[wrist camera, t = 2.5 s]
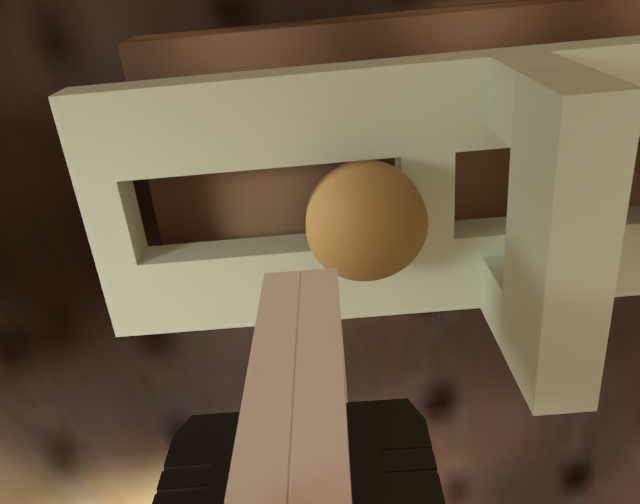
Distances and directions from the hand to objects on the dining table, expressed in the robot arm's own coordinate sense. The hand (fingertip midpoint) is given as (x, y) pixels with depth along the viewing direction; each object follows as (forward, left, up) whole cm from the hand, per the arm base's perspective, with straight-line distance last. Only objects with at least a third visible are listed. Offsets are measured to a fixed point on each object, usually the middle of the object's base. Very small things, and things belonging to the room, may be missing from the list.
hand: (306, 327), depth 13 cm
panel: (+3, +2, -8) cm, 8 cm away
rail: (+7, +4, -10) cm, 13 cm away
